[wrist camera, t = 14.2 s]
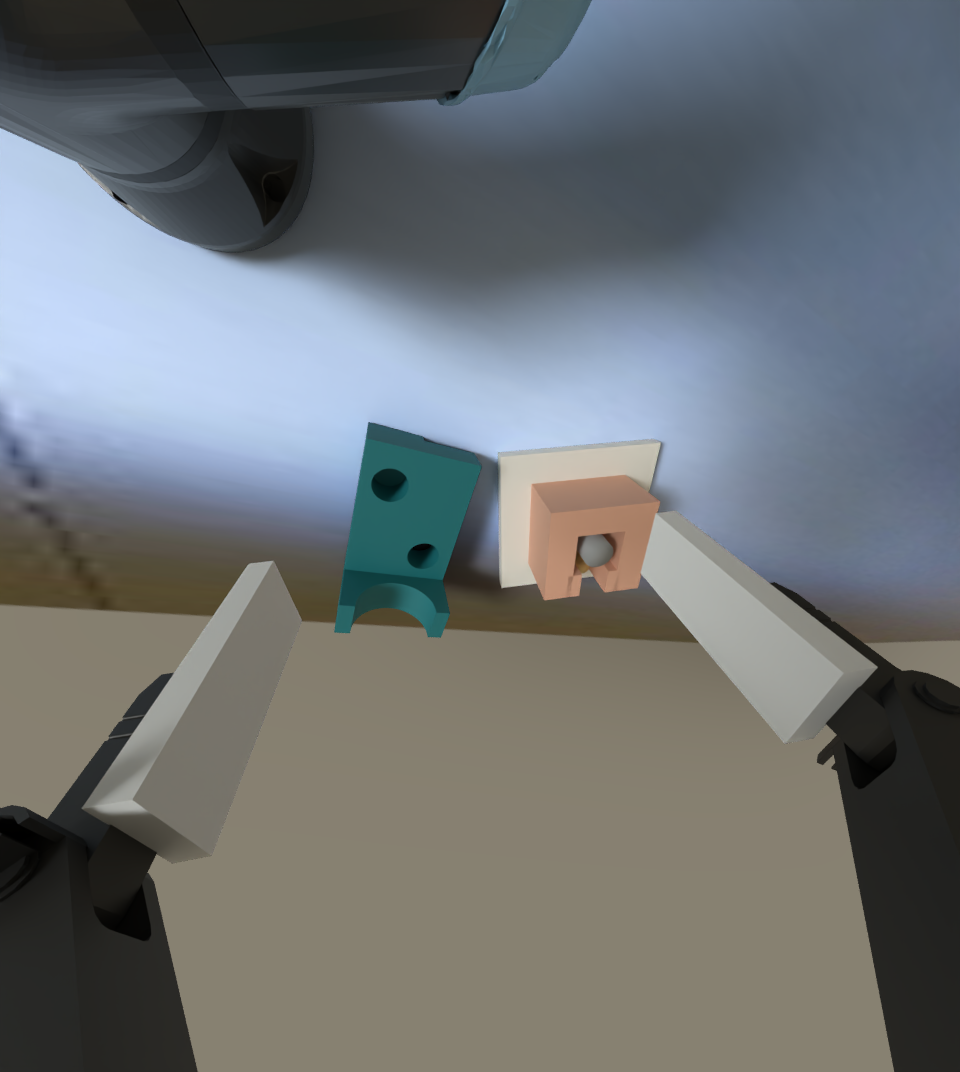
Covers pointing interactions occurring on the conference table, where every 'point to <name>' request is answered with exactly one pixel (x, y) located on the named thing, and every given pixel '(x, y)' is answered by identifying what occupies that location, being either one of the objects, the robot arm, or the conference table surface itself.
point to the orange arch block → (588, 532)
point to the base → (551, 467)
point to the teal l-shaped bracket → (404, 527)
